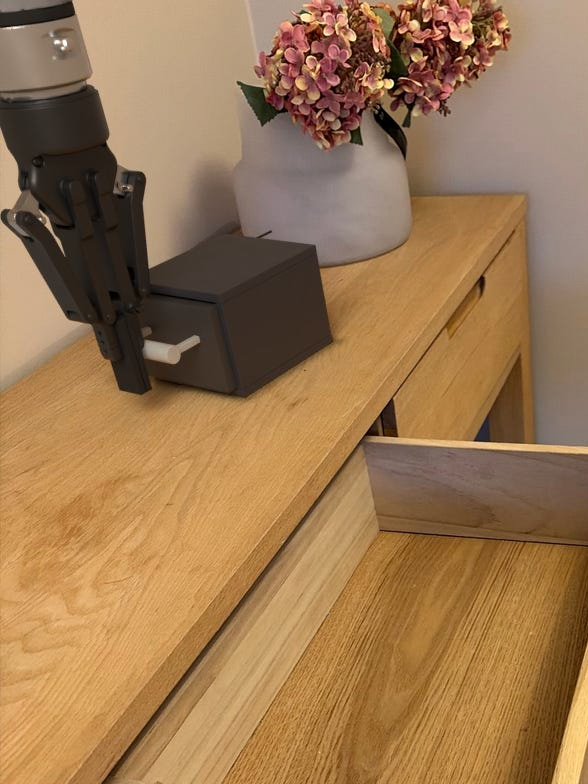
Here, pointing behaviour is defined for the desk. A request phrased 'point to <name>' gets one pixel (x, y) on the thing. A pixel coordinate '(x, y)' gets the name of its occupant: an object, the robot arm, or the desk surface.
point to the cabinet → (254, 301)
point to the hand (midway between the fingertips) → (136, 389)
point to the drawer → (185, 342)
